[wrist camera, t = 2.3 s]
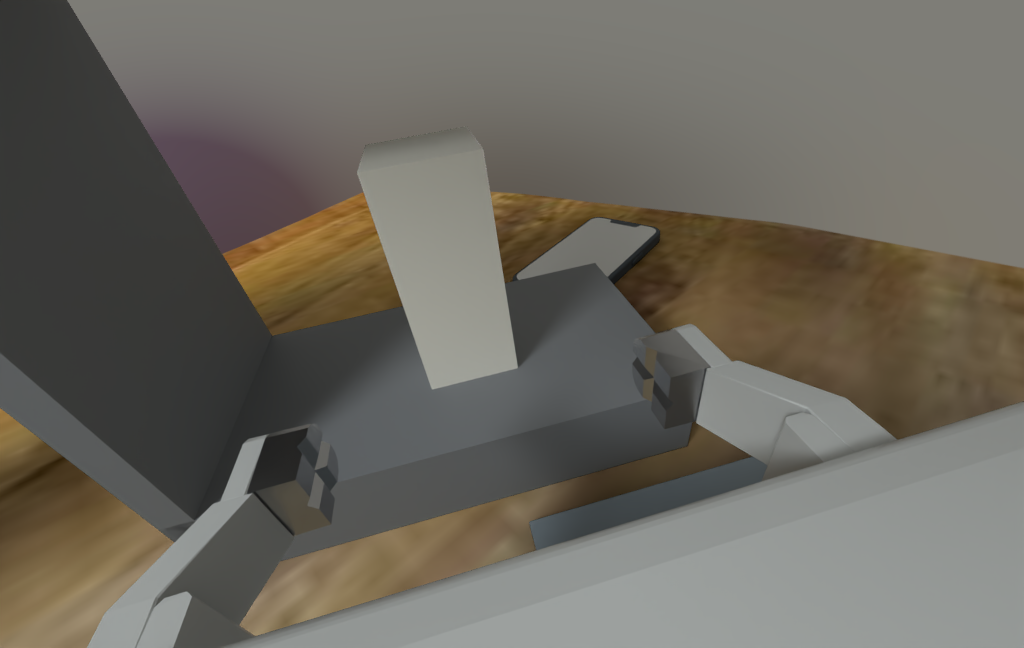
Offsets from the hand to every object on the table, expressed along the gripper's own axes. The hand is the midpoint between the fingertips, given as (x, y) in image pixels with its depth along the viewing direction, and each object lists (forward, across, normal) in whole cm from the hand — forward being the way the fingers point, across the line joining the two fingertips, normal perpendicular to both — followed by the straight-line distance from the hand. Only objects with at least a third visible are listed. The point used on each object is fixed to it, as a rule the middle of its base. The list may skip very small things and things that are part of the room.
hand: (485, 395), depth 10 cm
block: (+12, 0, +8) cm, 15 cm away
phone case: (+28, -13, +14) cm, 34 cm away
